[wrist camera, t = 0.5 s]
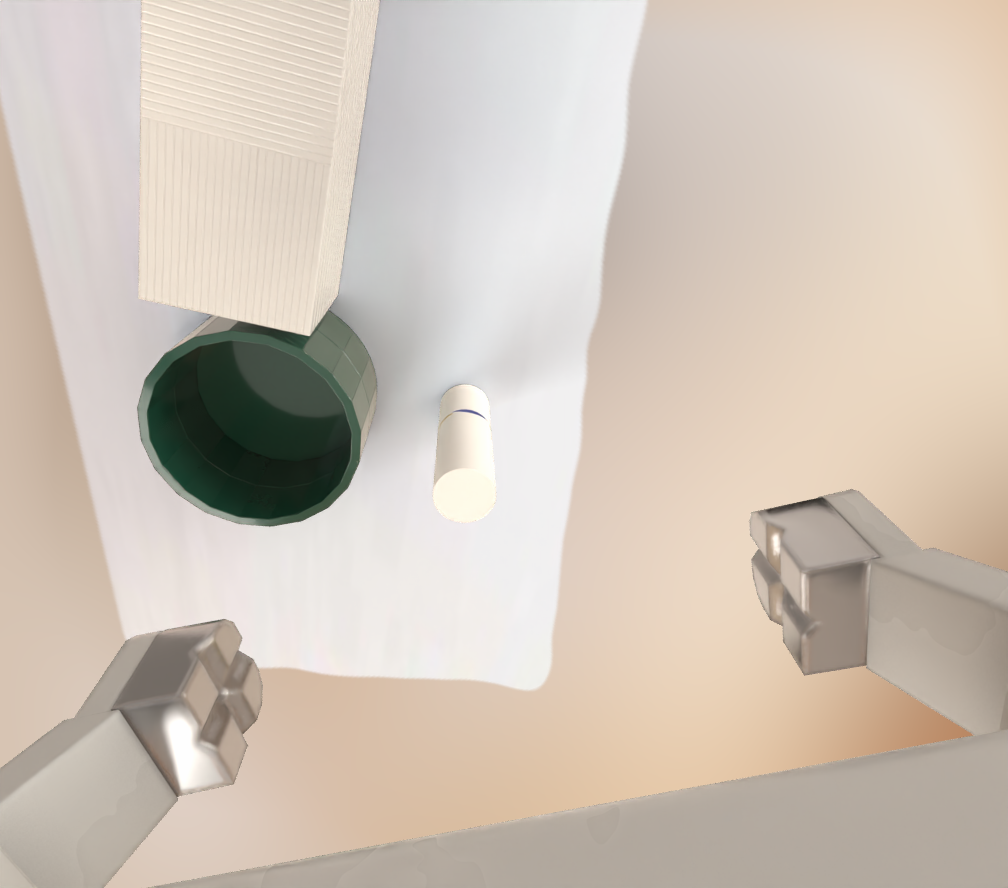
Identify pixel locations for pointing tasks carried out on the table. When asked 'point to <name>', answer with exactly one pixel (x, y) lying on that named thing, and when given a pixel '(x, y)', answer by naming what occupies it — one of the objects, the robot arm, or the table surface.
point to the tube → (464, 456)
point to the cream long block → (250, 153)
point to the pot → (259, 418)
